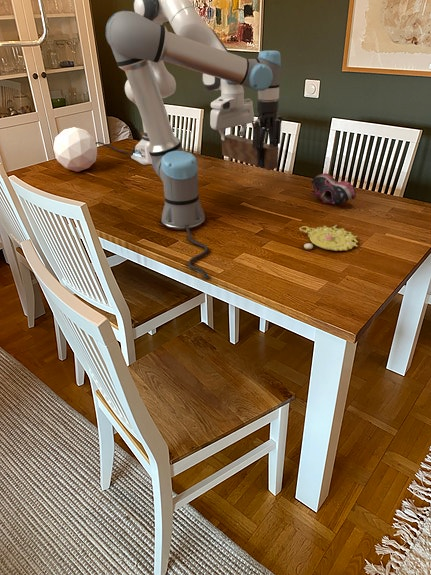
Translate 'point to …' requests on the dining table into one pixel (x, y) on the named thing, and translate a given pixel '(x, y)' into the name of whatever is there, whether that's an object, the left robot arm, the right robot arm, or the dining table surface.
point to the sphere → (75, 149)
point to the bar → (249, 151)
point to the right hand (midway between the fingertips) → (265, 165)
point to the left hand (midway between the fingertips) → (233, 137)
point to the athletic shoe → (332, 189)
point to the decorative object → (330, 238)
